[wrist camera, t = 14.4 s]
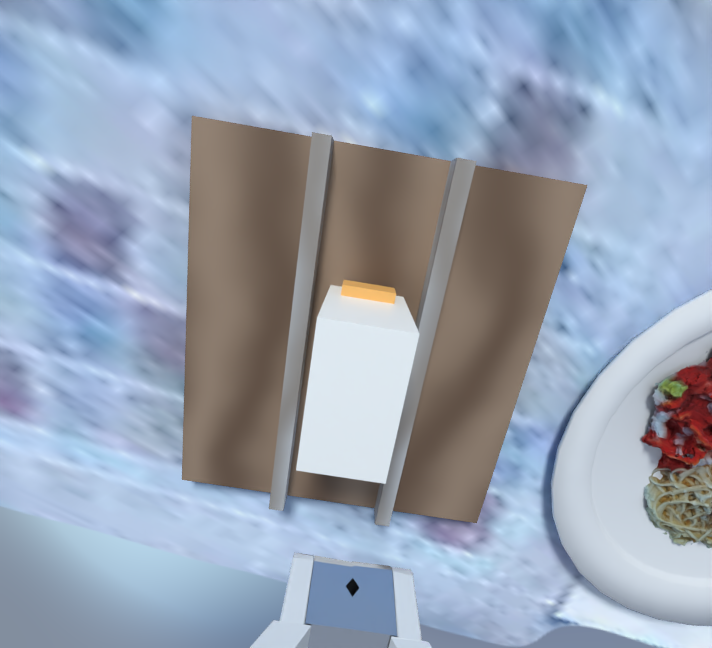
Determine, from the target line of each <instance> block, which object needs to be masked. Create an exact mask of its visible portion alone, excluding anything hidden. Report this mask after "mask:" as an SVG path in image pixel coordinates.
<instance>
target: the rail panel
mask: <svg viewBox="0 0 712 648" xmlns="http://www.w3.org/2000/svg"><path fill="white" fill-rule="evenodd" d="M475 165H476V161H472V160H467V159H461V158H456V159H454V160H452V161H447V160H441V159H435V158H430V157H424V156H418V155H412V154H407V153H401V152H395V151H390V150H384V149H378V148H373V147H367V146H361V145H356V144H350V143H344V142H338V141H334V140H333V137H332V136H330V135H324V134H319V133H313V132H312V137H310V136H304V135H299V134H293V133H287V132H281V131H276V130H270V129H264V128H259V127H253V126H247V125H242V124H236V123H230V122H224V121H219V120H213V119H207V118H202V117H196V116H192V131H191V167H190V204H189V240H188V277H187V313H186V350H185V386H184V423H183V460H182V480H188V481H195V482H201V483H208V484H215V485H222V486H229V487H235V488H242V489H249V490H256V491H263V492H269V493H271V495H270V503H269V509H273V510H280V511H283V509H284V506H285V502H286V498H287V495H290V496H296V497H303V498H310V499H317V500H324V501H330V502H337V503H344V504H351V505H358V506H364V507H371V508H374V512H375V524H376V525H383V526H389V524H390V520H391V516H392V512H393V511H398V512H405V513H412V514H419V515H425V516H432V517H439V518H446V519H453V520H459V521H466V522H473V523H477V520H478V517H479V514H480V511H481V508H482V505H483V502H484V499H485V496H486V493H487V490H488V487H489V484H490V481H491V478H492V475H493V472H494V469H495V466H496V462H497V459H498V456H499V453H500V450H501V447H502V444H503V441H504V438H505V435H506V432H507V429H508V426H509V423H510V420H511V417H512V414H513V411H514V408H515V405H516V401H517V398H518V395H519V392H520V389H521V386H522V383H523V380H524V377H525V374H526V371H527V368H528V365H529V362H530V359H531V356H532V353H533V350H534V347H535V344H536V341H537V337H538V334H539V331H540V328H541V325H542V322H543V319H544V316H545V313H546V310H547V307H548V304H549V301H550V298H551V295H552V292H553V289H554V286H555V283H556V280H557V276H558V273H559V270H560V267H561V264H562V261H563V258H564V255H565V252H566V249H567V246H568V243H569V240H570V237H571V234H572V231H573V228H574V225H575V222H576V219H577V215H578V212H579V209H580V206H581V203H582V200H583V197H584V194H585V191H586V188H587V185H583V184H578V183H572V182H566V181H561V180H555V179H549V178H544V177H538V176H532V175H526V174H521V173H515V172H509V171H504V170H498V169H492V168H487V167H481V166H475ZM344 280H349V281H355V282H361V283H368V284H374V285H380V286H386V287H392V288H394V289H395V291H396V296H401V297H404V299H405V302H406V304H407V306H408V308H409V311H410V313H411V315H412V318H413V320H414V322H415V325H416V327H417V329H418V331H419V339H418V343H417V348H416V352H415V356H414V361H413V365H412V370H411V374H410V379H409V383H408V387H407V392H406V396H405V401H404V405H403V409H402V414H401V418H400V423H399V427H398V431H397V436H396V440H395V445H394V449H393V453H392V458H391V462H390V467H389V471H388V475H387V480H386V484H383V483H377V482H370V481H363V480H356V479H350V478H343V477H336V476H330V475H323V474H316V473H310V472H303V471H296V467H297V459H298V452H299V445H300V438H301V430H302V423H303V416H304V409H305V401H306V394H307V387H308V380H309V372H310V365H311V358H312V350H313V343H314V336H315V329H316V321H317V316H318V314H319V312H320V309H321V307H322V304H323V302H324V300H325V297H326V295H327V293H328V290H329V288H330V286H331V285H334V286H340V287H342V284H343V281H344Z"/></svg>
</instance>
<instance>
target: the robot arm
mask: <svg viewBox="0 0 712 648" xmlns="http://www.w3.org/2000/svg"><path fill="white" fill-rule="evenodd" d="M250 648H432V647H431V645H430V644H429V642H427V641H422V637H421V630H420V622H419V615H418V608H417V600H416V593H415V586H414V578H413V573H412V571H411V570H410V569H403V568H396V567H390V566H384V565H377V564H369V563H361V562H353V561H352V562H349V561H343V560H337V559H331V558H326V557H320V556H313V555H307V554H301V553H294V556H293V559H292V563H291V568H290V573H289V578H288V583H287V588H286V593H285V597H284V602H283V607H282V612H281V617H280V621H277V620H273V621H272V622H271V624H270V625H269V626H268V627H267V628H266V629H265V630H264V632H263V633H262V634H261V635H260V636H259V637H258V638H257V640H256V641H255V642H254V643H253V644H252V645H251V646H250Z"/></svg>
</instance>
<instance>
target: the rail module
mask: <svg viewBox="0 0 712 648" xmlns="http://www.w3.org/2000/svg"><path fill="white" fill-rule="evenodd" d="M418 339H419V331H418V329H417V327H416V325H415V322H414V320H413V318H412V315H411V313H410V311H409V308H408V306H407V304H406V302H405V299H404V297H401V296H396V291H395V289H394V288H392V287H386V286H380V285H374V284H368V283H361V282H355V281H349V280H344V281H343V284H342V287H340V286H334V285H331V286H330V288H329V290H328V293H327V295H326V297H325V300H324V302H323V304H322V307H321V309H320V312H319V314H318V316H317V321H316V329H315V336H314V343H313V350H312V358H311V365H310V372H309V380H308V387H307V394H306V401H305V409H304V416H303V423H302V430H301V438H300V445H299V452H298V459H297V467H296V471H303V472H310V473H316V474H323V475H330V476H336V477H343V478H350V479H356V480H363V481H370V482H377V483H383V484H386V480H387V475H388V471H389V467H390V462H391V458H392V453H393V449H394V445H395V440H396V436H397V431H398V427H399V423H400V418H401V414H402V409H403V405H404V401H405V396H406V392H407V387H408V383H409V379H410V374H411V370H412V365H413V361H414V356H415V352H416V348H417V343H418Z"/></svg>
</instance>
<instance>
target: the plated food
mask: <svg viewBox="0 0 712 648" xmlns="http://www.w3.org/2000/svg"><path fill="white" fill-rule="evenodd" d="M551 499H552V515H553V519H554V522H555V525H556V528H557V531H558V535H559V538H560V541H561V544H562V545H563V547H564V549H565V550H566V552H567V553H568V555H569V557H570V558H571V560H572V561H573V563H574V564H575V566H576V568H577V569H578V571H579V572H580V573H581V574H582V575H583V576H584V577H585V578H586V579H587V580H588V581H589V582H590V583H591V584H592V585H593V586H595V587H596V588H597V589H598V590H599V591H600V592H601V593H602V594H604V595H606V596H608V597H609V598H611V599H613V600H614V601H616V602H618V603H619V604H621V605H623V606H624V607H626V608H628V609H631V610H633V611H636V612H639V613H642V614H645V615H647V616H650V617H653V618H656V619H659V620H665V621H670V622H676V623H682V624H687V625H697V626H712V289H710V290H708V291H707V292H705V293H703V294H701V295H699V296H697V297H695V298H693V299H692V300H690V301H688V302H686V303H684V304H682V305H680V306H678V307H677V308H675V309H673V310H672V311H670V312H669V313H668V314H666V315H665V316H664V317H662V318H661V319H660V320H658V321H657V322H656V323H654V324H653V325H652V326H650V327H649V328H648V329H646V330H645V331H644V332H642V333H641V334H640V335H638V336H637V337H636V338H634V339H633V340H632V341H631V342H630V343H629V344H628V345H627V346H626V347H625V348H624V349H623V350H622V351H621V352H620V353H619V354H618V355H617V356H616V357H615V358H614V359H613V360H612V361H611V362H610V363H609V364H608V365H607V366H606V367H605V368H604V369H603V370H602V372H601V373H600V374H599V375H598V376H597V377H596V379H595V380H594V382H593V383H592V385H591V386H590V388H589V389H588V390H587V392H586V393H585V395H584V396H583V398H582V399H581V401H580V402H579V404H578V405H577V407H576V408H575V410H574V411H573V413H572V415H571V418H570V420H569V422H568V425H567V427H566V429H565V432H564V434H563V436H562V438H561V441H560V443H559V445H558V448H557V453H556V458H555V463H554V468H553V473H552V478H551Z"/></svg>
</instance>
